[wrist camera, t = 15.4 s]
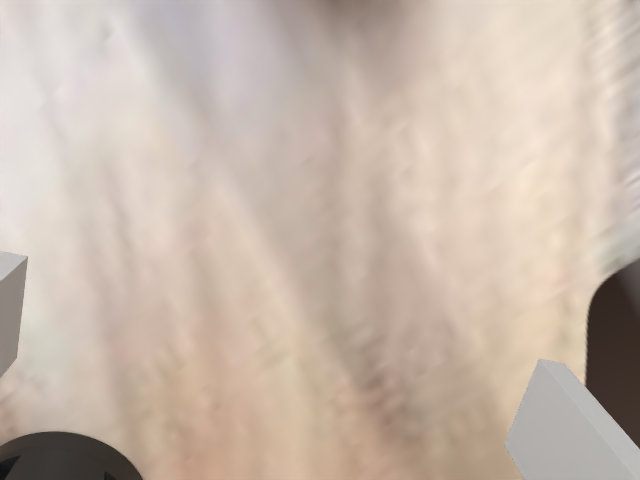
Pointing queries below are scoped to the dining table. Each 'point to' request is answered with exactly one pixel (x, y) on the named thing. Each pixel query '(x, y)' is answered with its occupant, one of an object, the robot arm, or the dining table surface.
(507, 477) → the dining table surface
